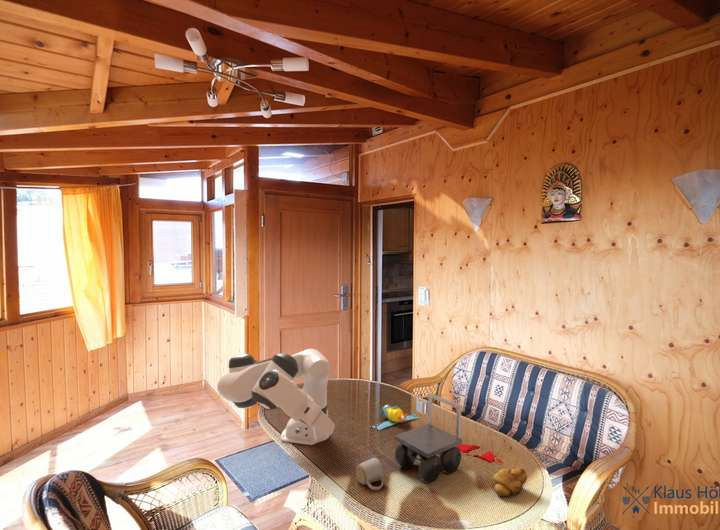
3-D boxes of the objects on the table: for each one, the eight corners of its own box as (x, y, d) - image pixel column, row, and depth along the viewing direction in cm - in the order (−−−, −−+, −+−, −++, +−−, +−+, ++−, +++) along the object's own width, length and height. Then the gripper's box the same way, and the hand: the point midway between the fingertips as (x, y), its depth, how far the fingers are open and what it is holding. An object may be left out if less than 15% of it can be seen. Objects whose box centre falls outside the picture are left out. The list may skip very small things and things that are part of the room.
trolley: (425, 489, 148) (426, 418, 147) (392, 467, 163) (392, 403, 162) (463, 470, 161) (464, 405, 160) (429, 452, 175) (430, 392, 174)
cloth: (512, 461, 169) (512, 456, 169) (491, 472, 161) (492, 466, 161) (462, 438, 190) (462, 433, 190) (441, 446, 182) (441, 441, 182)
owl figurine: (380, 416, 192) (362, 406, 205) (380, 435, 192) (362, 424, 205) (425, 404, 208) (405, 395, 220) (425, 421, 208) (405, 411, 220)
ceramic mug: (354, 479, 154) (354, 459, 154) (372, 473, 159) (372, 453, 158) (370, 494, 146) (370, 473, 145) (388, 487, 150) (389, 466, 150)
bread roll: (506, 503, 140) (506, 480, 140) (483, 489, 148) (483, 467, 148) (529, 491, 147) (529, 469, 147) (506, 478, 155) (507, 457, 155)
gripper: (279, 404, 141) (305, 425, 148) (309, 425, 125) (336, 447, 131) (291, 389, 144) (316, 410, 150) (322, 407, 127) (348, 430, 134)
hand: (325, 428), depth 141 cm, fingers open, 6 cm apart
